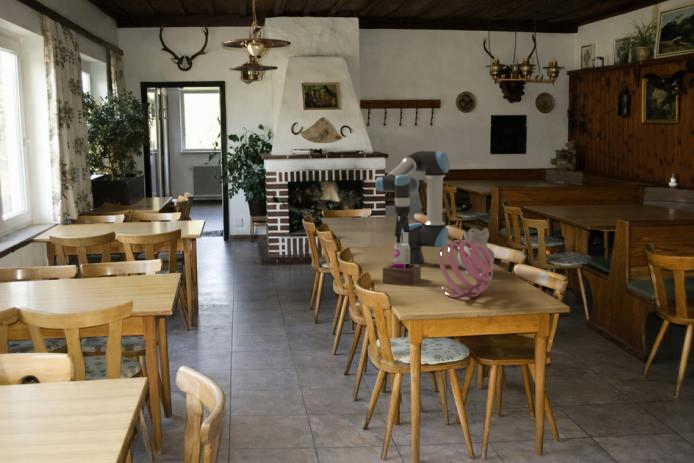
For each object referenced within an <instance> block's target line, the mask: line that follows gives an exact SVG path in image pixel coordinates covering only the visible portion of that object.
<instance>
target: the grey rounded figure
mask: <svg viewBox="0 0 694 463" xmlns="http://www.w3.org/2000/svg"><path fill="white" fill-rule="evenodd" d="M482 229H483V230H480V229H478V228H474V227H472V228H470V229H468V231H467V232H463V238H464V240H471V241H473V242H475V243H477V244H479V245H481V246H482V247H483V248H485V250H486V251H487V252H488V253H489V255H490V257H491V260H492V263H493V264H494V262H495V252H494V251H493V249H490V247H489V246H488V240H489V237H490V231H489V229H488V227H483V228H482ZM467 243H469V244H470V245H472V243H470V242H467ZM464 251H465V252H466V253H467V254H468V255H469V256H470V257H471V259H472V260H473V258H472V255H471V251H470V249H469V248H468V247H466V246H464ZM476 251H477V252H478V253H479V254H480V256H481V257H482V259H483V261H484V263H485V261H486V263H487V267H489V265H488V262H487V260H486V258H485V257H484V255H483V254H482V252H481V251H480V250H479V249H478V248H476ZM457 259H458V262H459V263H458V264H460V266H461V267H462V268H463V269H465V271H464V273H465V274H467V275H470V274H469V273H468V271H467V270H466V268H465V267H464V265H463V263H462V261H461V258H460V255H459V252H458V253H457ZM473 262H474V263H475V261H474V260H473ZM475 265H476V267H477V269H478V271H479V273H480V275H481V274H482V270H481V269H480V268H479V267H478V266H477V264H476V263H475Z"/></svg>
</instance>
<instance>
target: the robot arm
mask: <svg viewBox="0 0 694 463" xmlns="http://www.w3.org/2000/svg"><path fill="white" fill-rule="evenodd" d="M449 170H450V159H449V156H448V154H447V153H446V152H445V151H438V150H437V151H436V150H435V151H434V150H433V151H432V150H431V151H428V150H427V151H425V150H424V151H423V150H418V151H414V152H413V153H410V154H408V155H407V156H405V157H404V158H403V159H402V160H401V161H400V164H398V165H397V166H396V167H395V168H393V169H392V170H391V171H390V172H389V173H387V174H386V175H385V176H378V177H377V178H376V180H375V188H376V191H377V192H394V199H393V201H394V205H395V206H394V213H395V214H397V215H398V216H396V223H395V224H396V225H395V231H394V237H395V244H396V249H402V243H405V244H409V246H410V264H419V265H421V266H422V265H424V264H425V263H426V261H425V257H424V253H423V251H422V250H423V247H426V248H427V247H429V248H442V247H443V246H444V245H446V244H447V241H448V240H449V239H448V238H449V228H448V227H446V223H445V222H444V221H443V193H444V192H443V191H444V190H443V188H444V186H443V184H444V177H446V175H447V173H448V172H449ZM416 172H417V173H418V172H419V173H424V176H425V177H426V179H427V183H426V184H427V185H426V186H427V191H426V193H427V194H426V195H427V197H426V198H427V199H426V203H427V204H426V221H425V222H424V223H422V222H414V223H413V222H412V223H409V214H410V212H411V208H410V205H411V199H410V198H411V196H410V195H411V193H413V192H415V191H418V189H419V187H420V181H419V180H418V179H417V177H414V176H413V177H410V174H413V173H416ZM423 224H424V225H423Z"/></svg>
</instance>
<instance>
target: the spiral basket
mask: <svg viewBox="0 0 694 463" xmlns="http://www.w3.org/2000/svg"><path fill="white" fill-rule="evenodd" d="M467 242H470V243H472V245H470V244H469V243H467ZM455 243H459V244H458V245H456V244H455ZM464 246H466V247H468V248H469V249H470V251H471V255H472V258H473V260H474V261H475V263H476V264H477V266H478V267H479V268H480V269H481V270H482V274H481V275H480V273H479V271H478V269H477V267H476V265H475V263H474V262H473V260H472V259H471V257H470V256H469V255H468V254H467V253H466V252H465V251H464ZM445 248H447V258H448V263H449V265H450V268H451V270H452V272H453V273H454V275H455V276H456V278H457V279H458V281H460V282H461V284H462V285H463V286H464V287H466V288H467V289H466V290H465V289H461V288H460V287H459V286H457V284H456V283H455V282H454V280H453V279H452V277H451V276H450V274H449V272H448V270H447V268H446V265H445V262H444V257H443V256H444V250H445ZM476 248H478V249H479V250H480V251H481V252H482V254H483V255H484V257H485V258H486V260H487V262H488V265H489V267H487V263H486V261H485V263H484V261H483V259H482V257H481V256H480V254H479V253H478V252H477V251H476ZM453 250H454V251H456V252H458V253H459V255H460V258H461V261H462V263H463V265H464V267H465V268H466V269H465V268H464V269H465V271H466V270H467V271H468V273H469V274H468V275H470V276H471V277H472V278H473V279H474V280H475V281H476V282H475V283H474V284H472V283H471V282H469V281H468V280H467V279H466V278H465V277H464V274H462V272H461V271H460V269H459V267H458V265H457V262H456V261H455V256H454V253H453ZM438 263H439V267H440V270H441V272H442V274H443V276H444V279H445V280H446V282H447V283H448V285H450V286H448V285H445V288H446V289H448V290H450V291H453V292H456V293H457V294H458V295H453V294H450V293H448V292H447V291H446V290H445V288H444V287H443V286H442V287H441V289H442V292H443V293H444V294H445V295H446V296H448V297H449V298H453V299H462V298H464V299H465V298H467V299H473V298H476V297H478V296H479V295H480V294H481V293H483V292H485V291H486V290H487V288H488V287H489V285H490V283H491V282H492V278H493V276H494V265H493V264H494V262H493V263H492V260H491V257H490V255H489V253H488V252H487V251H486V250H485V248H483V247H482V246H481V245H479V244H477V243H475V242H473V241H471V240H465V239H456V240H453V241H450V243H446V244H445V245H444V246H443V247H440V249H439V252H438ZM489 273H490V274H489ZM474 293H475V294H474ZM471 294H474V295H471Z"/></svg>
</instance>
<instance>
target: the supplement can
mask: <svg viewBox="0 0 694 463" xmlns="http://www.w3.org/2000/svg"><path fill="white" fill-rule="evenodd" d="M393 256H394V257H393V260H394V261H393V263H394V268H400V269H410V246H409V244H405V243H402V249H396V243H395V245H394V248H393Z"/></svg>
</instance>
